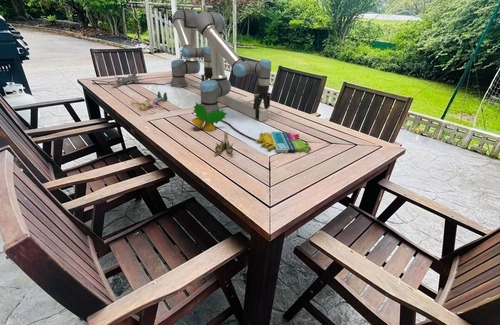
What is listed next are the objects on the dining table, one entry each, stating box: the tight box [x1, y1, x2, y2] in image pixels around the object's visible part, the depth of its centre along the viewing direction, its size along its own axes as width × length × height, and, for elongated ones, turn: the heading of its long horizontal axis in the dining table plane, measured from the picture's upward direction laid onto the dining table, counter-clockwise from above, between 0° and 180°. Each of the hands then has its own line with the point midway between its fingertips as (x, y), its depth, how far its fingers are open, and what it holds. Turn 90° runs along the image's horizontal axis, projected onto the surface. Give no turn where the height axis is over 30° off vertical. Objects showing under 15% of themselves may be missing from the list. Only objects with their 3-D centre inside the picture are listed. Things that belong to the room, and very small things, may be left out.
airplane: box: [110, 68, 145, 89], centre depth 248 cm, size 38×31×10 cm
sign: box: [255, 131, 312, 154], centre depth 152 cm, size 26×2×30 cm
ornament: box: [191, 102, 228, 132], centre depth 162 cm, size 21×8×15 cm, turn 105°
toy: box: [130, 91, 168, 111], centre depth 196 cm, size 28×7×30 cm
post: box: [218, 92, 270, 122], centre depth 205 cm, size 77×6×7 cm, turn 39°
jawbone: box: [214, 131, 234, 156], centre depth 136 cm, size 9×15×10 cm
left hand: (208, 94), depth 229 cm, fingers closed on post, 6 cm apart
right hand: (260, 117), depth 184 cm, fingers closed on post, 6 cm apart
